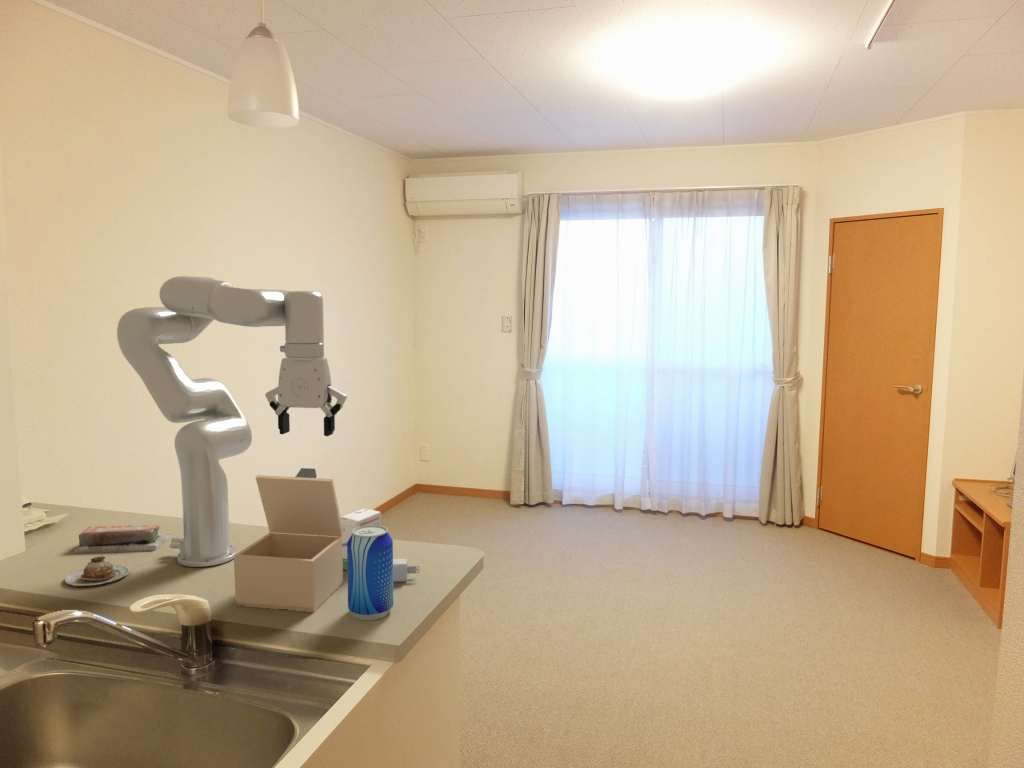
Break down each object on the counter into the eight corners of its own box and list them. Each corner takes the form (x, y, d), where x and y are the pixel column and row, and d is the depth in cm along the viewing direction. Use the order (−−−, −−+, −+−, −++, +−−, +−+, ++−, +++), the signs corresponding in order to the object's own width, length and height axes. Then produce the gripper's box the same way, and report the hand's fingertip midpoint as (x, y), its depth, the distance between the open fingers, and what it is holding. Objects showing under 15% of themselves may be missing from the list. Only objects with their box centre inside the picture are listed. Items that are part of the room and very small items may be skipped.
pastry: (103, 592, 145) (102, 570, 144) (50, 588, 146) (49, 566, 146) (142, 570, 156) (141, 550, 156) (92, 567, 158) (91, 547, 158)
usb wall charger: (386, 576, 154) (386, 558, 153) (419, 575, 154) (419, 557, 154) (385, 583, 150) (385, 565, 149) (419, 582, 151) (419, 563, 150)
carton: (235, 606, 138) (233, 555, 137) (270, 578, 151) (269, 532, 150) (314, 612, 135) (313, 561, 134) (342, 583, 149) (342, 537, 148)
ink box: (358, 573, 155) (357, 520, 154) (340, 569, 157) (339, 517, 156) (382, 561, 162) (382, 510, 161) (365, 557, 165) (364, 507, 163)
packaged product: (72, 535, 165) (91, 522, 175) (73, 555, 165) (92, 541, 175) (155, 532, 168) (169, 519, 177) (156, 552, 168) (170, 538, 178)
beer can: (361, 600, 141) (360, 521, 139) (400, 606, 138) (400, 525, 137) (339, 618, 133) (338, 534, 131) (380, 624, 130) (379, 539, 129)
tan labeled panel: (255, 477, 144) (270, 458, 150) (269, 532, 150) (283, 512, 156) (331, 481, 142) (343, 462, 147) (342, 536, 148) (353, 516, 154)
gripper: (256, 352, 144) (258, 435, 146) (337, 354, 142) (339, 439, 144) (274, 349, 152) (276, 429, 154) (352, 351, 149) (353, 432, 151)
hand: (306, 434), depth 149 cm, fingers open, 9 cm apart
